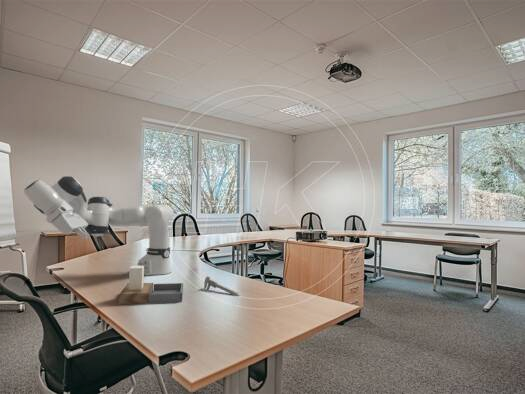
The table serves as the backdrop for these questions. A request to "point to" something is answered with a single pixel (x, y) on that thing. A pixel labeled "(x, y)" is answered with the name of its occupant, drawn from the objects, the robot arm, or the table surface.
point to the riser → (136, 294)
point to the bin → (166, 293)
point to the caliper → (218, 286)
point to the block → (136, 277)
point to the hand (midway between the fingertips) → (86, 237)
